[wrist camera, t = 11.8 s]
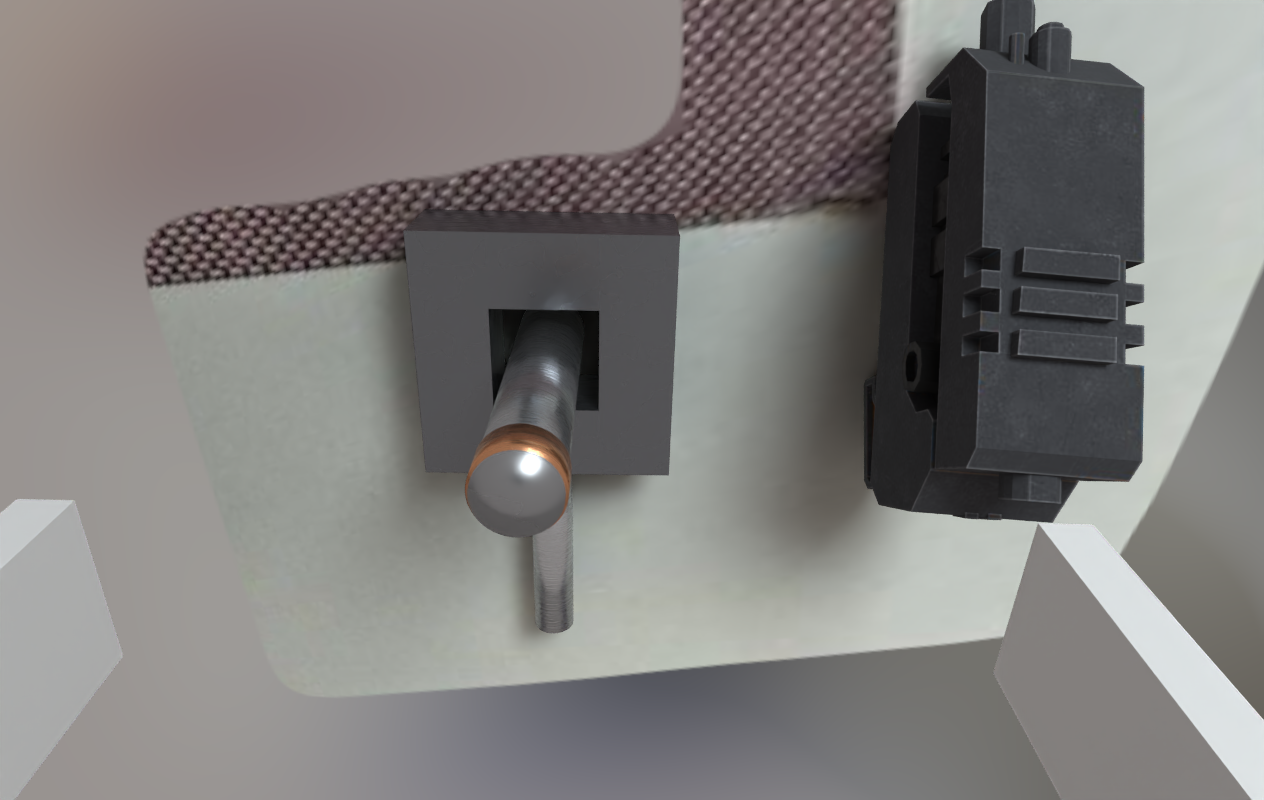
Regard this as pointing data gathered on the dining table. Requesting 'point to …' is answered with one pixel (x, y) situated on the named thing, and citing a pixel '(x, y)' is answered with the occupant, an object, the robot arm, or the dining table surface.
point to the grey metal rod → (530, 429)
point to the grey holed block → (546, 280)
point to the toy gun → (1010, 282)
